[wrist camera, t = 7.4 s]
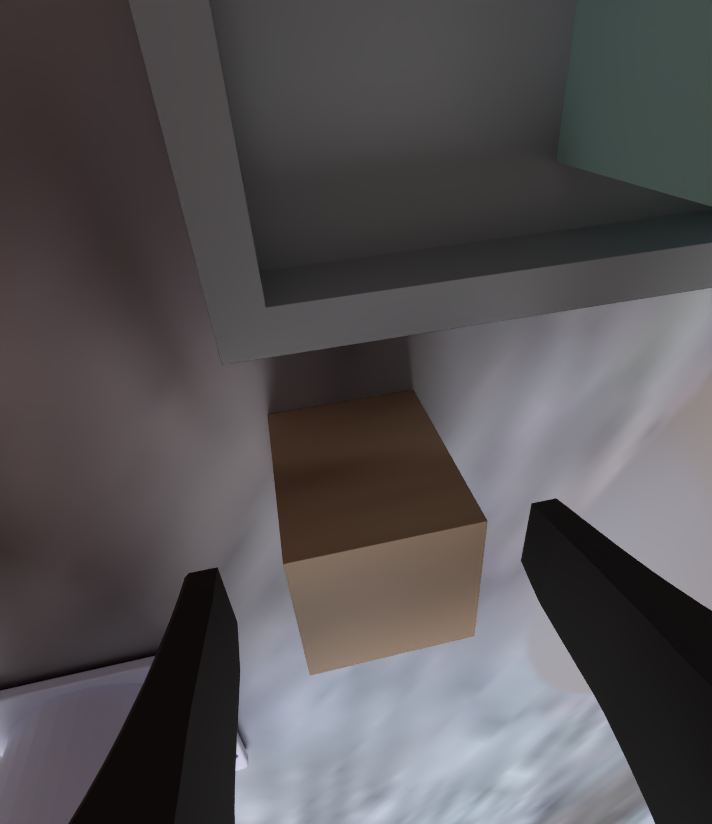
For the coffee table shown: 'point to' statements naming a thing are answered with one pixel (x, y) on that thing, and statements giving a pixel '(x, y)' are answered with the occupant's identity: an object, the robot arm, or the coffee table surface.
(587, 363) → the coffee table surface
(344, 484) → the walnut block
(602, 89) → the teal block
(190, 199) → the tray
